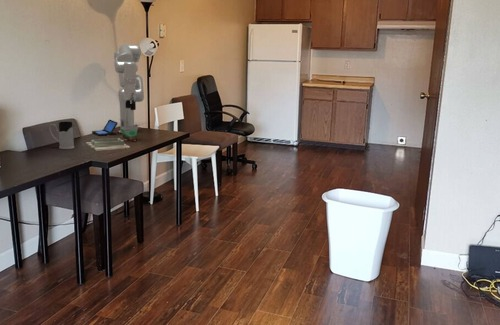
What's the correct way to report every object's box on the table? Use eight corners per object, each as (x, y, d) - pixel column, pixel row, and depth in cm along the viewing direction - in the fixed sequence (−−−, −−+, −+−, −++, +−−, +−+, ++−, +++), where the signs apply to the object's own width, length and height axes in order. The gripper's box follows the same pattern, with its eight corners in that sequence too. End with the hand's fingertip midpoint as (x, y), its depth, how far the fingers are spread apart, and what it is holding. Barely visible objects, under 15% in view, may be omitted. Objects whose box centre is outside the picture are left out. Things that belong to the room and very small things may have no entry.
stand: (86, 144, 286) (86, 138, 285) (118, 141, 297) (117, 136, 296) (96, 151, 268) (96, 145, 267) (129, 148, 279) (129, 142, 278)
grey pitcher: (70, 149, 270) (69, 124, 266) (47, 148, 271) (45, 122, 267) (77, 146, 278) (75, 121, 275) (54, 145, 279) (52, 120, 275)
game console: (91, 133, 323) (90, 120, 321) (110, 131, 331) (109, 119, 329) (99, 136, 311) (98, 123, 309) (118, 135, 319) (118, 122, 317)
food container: (127, 142, 294) (127, 127, 292) (121, 141, 298) (121, 126, 295) (142, 140, 304) (142, 125, 302) (136, 139, 307) (136, 124, 305)
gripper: (119, 81, 297) (120, 107, 301) (128, 83, 282) (129, 110, 286) (131, 81, 301) (131, 107, 304) (140, 83, 286) (140, 110, 290)
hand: (130, 109), depth 295 cm, fingers open, 9 cm apart
